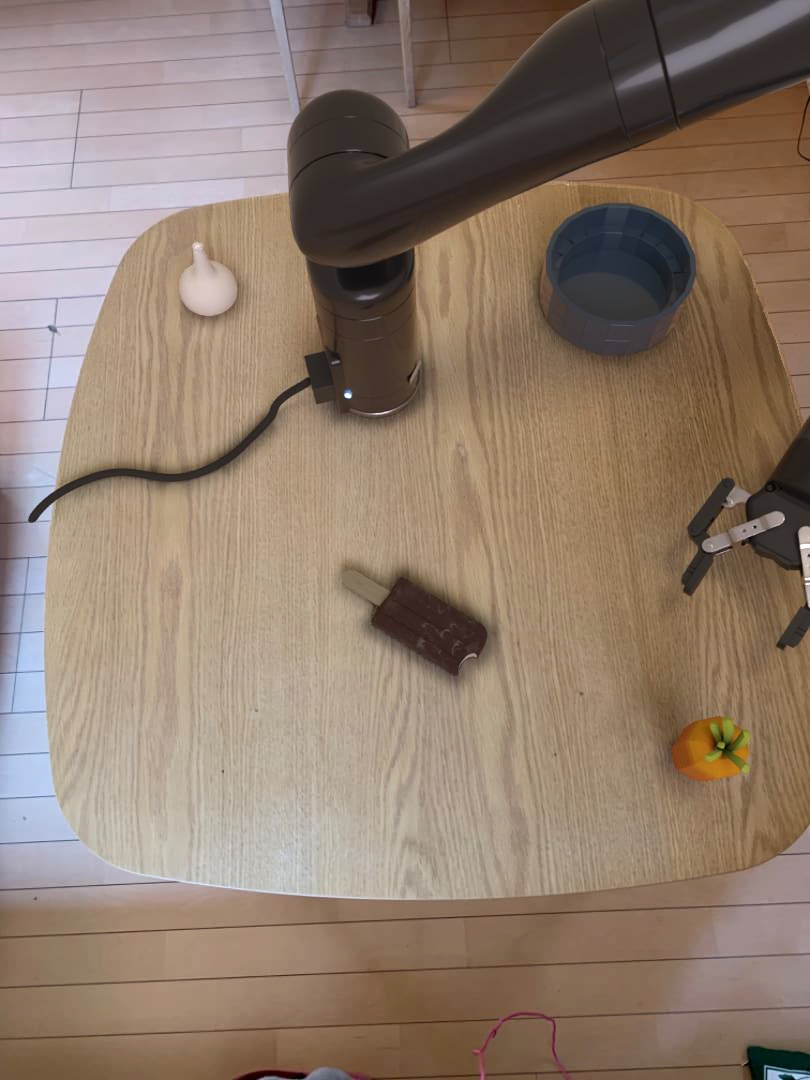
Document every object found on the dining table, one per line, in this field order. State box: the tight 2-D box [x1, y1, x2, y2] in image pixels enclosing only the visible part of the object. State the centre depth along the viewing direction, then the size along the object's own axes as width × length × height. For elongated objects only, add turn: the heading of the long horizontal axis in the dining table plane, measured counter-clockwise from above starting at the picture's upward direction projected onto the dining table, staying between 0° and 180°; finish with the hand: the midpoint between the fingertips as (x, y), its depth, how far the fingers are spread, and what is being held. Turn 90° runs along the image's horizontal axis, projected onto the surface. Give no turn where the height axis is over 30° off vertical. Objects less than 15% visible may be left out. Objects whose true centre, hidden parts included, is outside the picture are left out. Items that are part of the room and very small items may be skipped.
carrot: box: [670, 715, 751, 783], centre depth 68 cm, size 5×5×15 cm
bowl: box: [539, 202, 697, 356], centre depth 90 cm, size 15×15×6 cm
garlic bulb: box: [178, 241, 238, 317], centre depth 90 cm, size 6×6×8 cm
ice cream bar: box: [341, 569, 488, 677], centre depth 80 cm, size 5×2×15 cm
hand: (732, 620), depth 72 cm, fingers open, 8 cm apart
